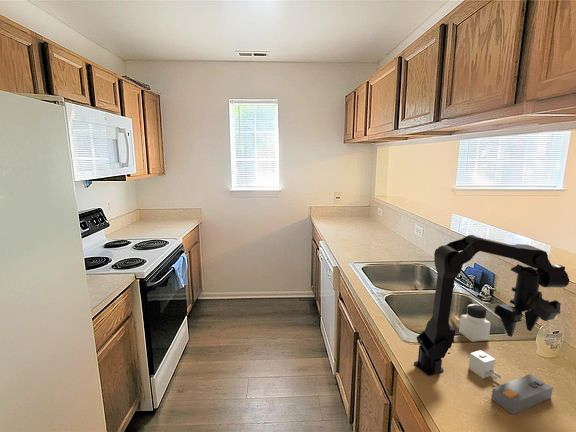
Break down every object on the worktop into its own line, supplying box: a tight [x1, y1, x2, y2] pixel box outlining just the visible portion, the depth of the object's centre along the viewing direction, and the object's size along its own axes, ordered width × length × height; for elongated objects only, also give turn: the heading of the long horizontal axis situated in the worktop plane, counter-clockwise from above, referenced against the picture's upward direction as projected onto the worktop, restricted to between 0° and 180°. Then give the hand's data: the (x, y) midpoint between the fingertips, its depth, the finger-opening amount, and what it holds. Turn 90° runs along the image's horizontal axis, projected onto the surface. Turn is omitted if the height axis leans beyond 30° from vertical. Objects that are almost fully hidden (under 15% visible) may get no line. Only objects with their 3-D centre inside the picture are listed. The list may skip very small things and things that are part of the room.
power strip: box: [491, 373, 553, 415], centre depth 92 cm, size 6×16×4 cm, turn 112°
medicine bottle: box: [458, 303, 492, 343], centre depth 123 cm, size 7×7×12 cm
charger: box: [468, 349, 502, 381], centre depth 102 cm, size 8×4×6 cm, turn 23°
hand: (519, 333), depth 104 cm, fingers open, 9 cm apart
